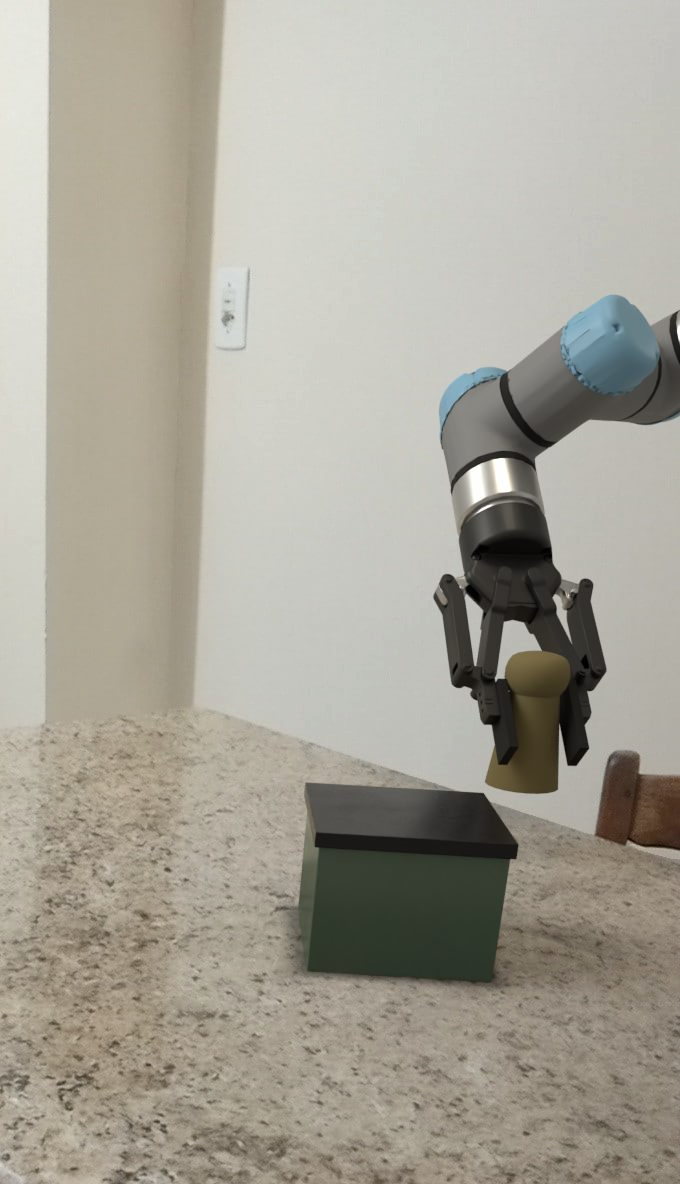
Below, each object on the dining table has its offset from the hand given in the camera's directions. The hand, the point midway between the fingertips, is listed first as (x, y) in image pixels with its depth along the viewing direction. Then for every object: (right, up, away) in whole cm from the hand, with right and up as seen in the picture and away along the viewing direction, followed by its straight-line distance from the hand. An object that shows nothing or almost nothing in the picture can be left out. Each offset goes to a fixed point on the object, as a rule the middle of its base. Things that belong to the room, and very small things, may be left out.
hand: (543, 756), depth 111 cm
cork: (-1, -2, +5) cm, 5 cm away
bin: (-15, -15, -16) cm, 27 cm away
